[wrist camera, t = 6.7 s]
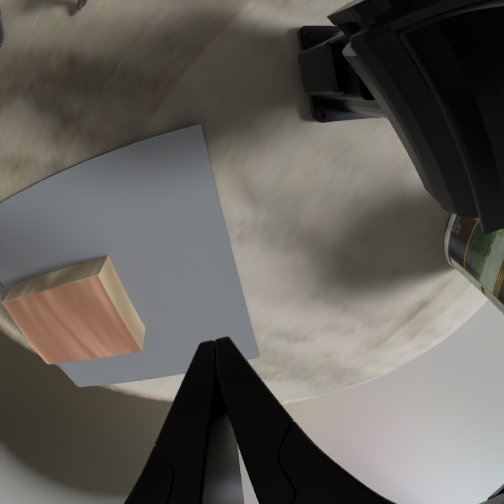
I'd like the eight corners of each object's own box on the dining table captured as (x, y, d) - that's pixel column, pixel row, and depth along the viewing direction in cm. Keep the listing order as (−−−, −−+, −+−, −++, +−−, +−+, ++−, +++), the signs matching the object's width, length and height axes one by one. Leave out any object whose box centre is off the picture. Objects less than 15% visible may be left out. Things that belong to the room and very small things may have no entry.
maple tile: (98, 275, 16) (1, 302, 15) (142, 351, 19) (47, 364, 19) (108, 254, 18) (14, 284, 17) (145, 328, 21) (54, 344, 21)
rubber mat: (201, 123, 16) (201, 123, 15) (258, 353, 26) (259, 356, 25) (-27, 219, 14) (-29, 221, 14) (78, 384, 24) (78, 386, 24)
